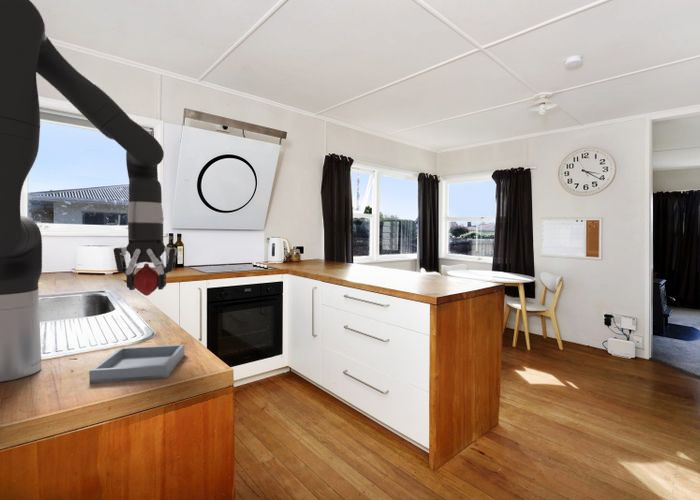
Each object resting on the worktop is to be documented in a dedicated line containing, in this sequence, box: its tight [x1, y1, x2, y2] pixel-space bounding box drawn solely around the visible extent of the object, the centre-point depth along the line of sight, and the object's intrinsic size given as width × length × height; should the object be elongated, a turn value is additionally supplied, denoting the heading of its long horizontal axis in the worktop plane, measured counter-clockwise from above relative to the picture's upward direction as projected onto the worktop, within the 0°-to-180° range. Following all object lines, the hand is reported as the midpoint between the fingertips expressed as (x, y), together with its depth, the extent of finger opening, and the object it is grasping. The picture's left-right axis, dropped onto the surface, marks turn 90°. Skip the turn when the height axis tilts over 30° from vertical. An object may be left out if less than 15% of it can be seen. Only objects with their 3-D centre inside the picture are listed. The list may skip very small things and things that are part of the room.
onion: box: [133, 262, 159, 296], centre depth 89 cm, size 6×6×8 cm
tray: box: [88, 344, 185, 384], centre depth 79 cm, size 14×14×2 cm
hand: (146, 289), depth 90 cm, fingers closed on onion, 6 cm apart
